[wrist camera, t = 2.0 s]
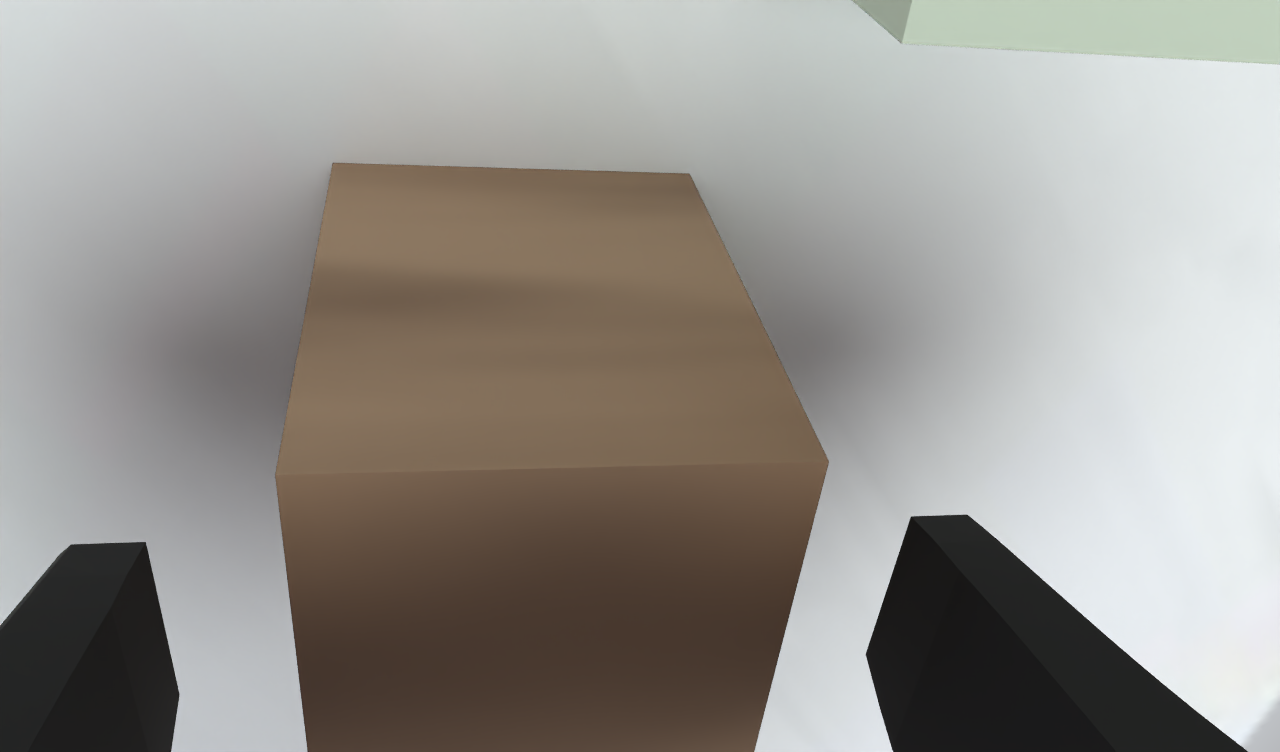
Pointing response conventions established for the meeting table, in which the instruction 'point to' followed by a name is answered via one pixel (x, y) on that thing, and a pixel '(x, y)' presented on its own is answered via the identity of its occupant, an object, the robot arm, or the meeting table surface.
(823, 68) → the meeting table surface
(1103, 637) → the robot arm
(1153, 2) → the green cube
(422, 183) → the walnut block
